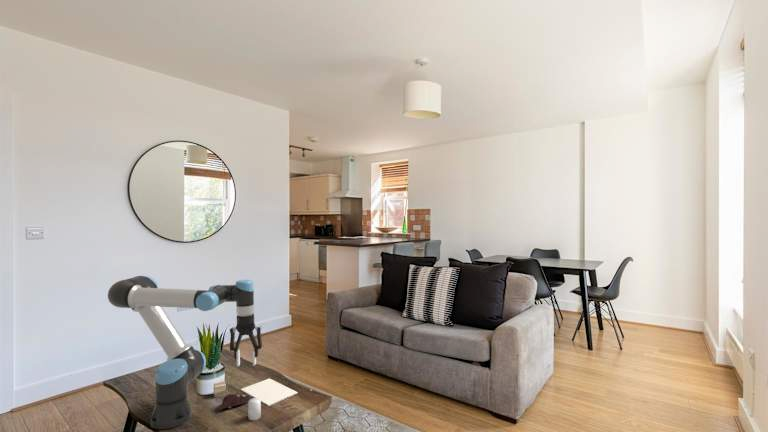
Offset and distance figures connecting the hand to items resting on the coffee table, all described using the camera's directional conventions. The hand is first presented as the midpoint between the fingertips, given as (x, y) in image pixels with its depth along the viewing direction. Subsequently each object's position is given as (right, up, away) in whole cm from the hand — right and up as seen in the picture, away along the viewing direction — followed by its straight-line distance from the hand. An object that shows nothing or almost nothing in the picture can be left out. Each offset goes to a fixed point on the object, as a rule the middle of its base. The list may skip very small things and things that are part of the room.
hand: (246, 364), depth 172 cm
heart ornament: (-3, -18, -7) cm, 20 cm away
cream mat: (+7, -18, +11) cm, 22 cm away
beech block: (-16, -18, +8) cm, 25 cm away
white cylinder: (+8, -18, -12) cm, 23 cm away
